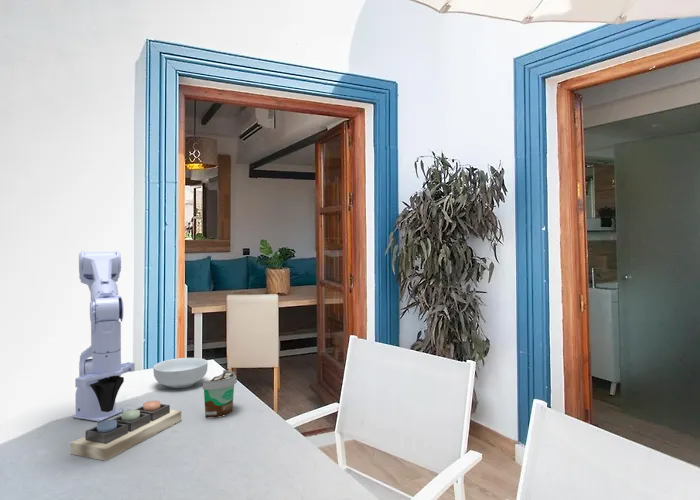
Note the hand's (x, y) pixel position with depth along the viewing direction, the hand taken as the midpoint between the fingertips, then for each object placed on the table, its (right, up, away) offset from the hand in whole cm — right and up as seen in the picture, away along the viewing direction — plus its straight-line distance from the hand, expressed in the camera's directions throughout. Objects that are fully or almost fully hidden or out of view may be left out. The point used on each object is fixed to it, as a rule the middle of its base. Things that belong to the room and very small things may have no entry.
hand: (106, 410), depth 105 cm
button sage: (+2, -5, +7) cm, 8 cm away
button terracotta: (+5, -4, +13) cm, 15 cm away
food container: (+20, -9, +23) cm, 32 cm away
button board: (+2, -8, +7) cm, 11 cm away
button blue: (0, -5, 0) cm, 5 cm away
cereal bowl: (-1, -8, +48) cm, 49 cm away
